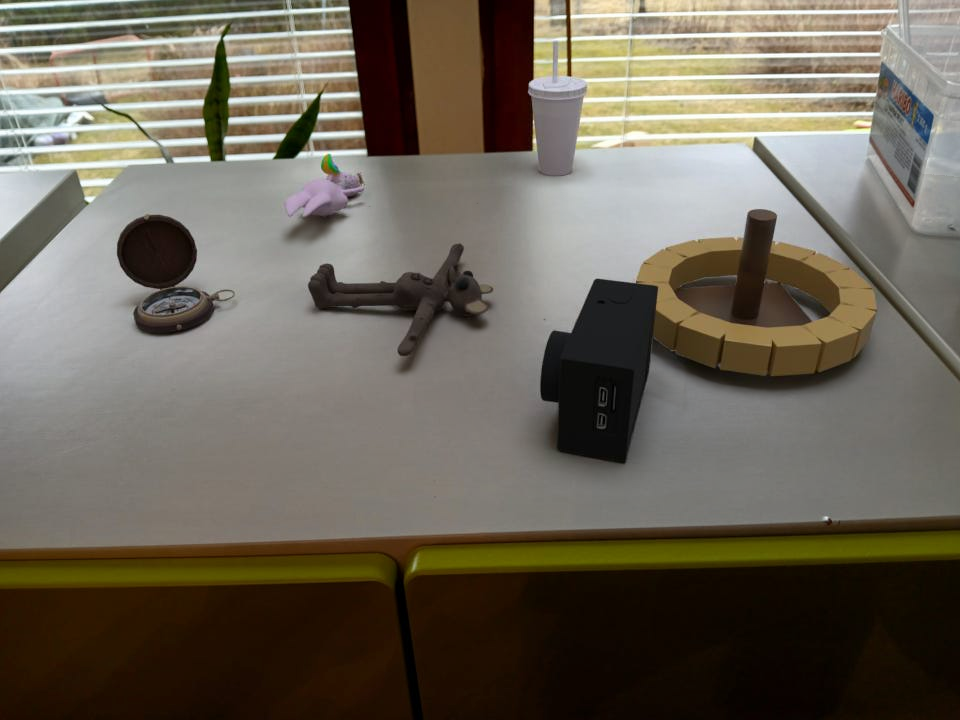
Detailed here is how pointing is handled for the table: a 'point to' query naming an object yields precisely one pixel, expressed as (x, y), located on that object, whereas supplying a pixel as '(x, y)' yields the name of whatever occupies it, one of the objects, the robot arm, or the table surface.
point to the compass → (163, 273)
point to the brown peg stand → (750, 284)
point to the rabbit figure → (325, 192)
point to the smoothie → (556, 118)
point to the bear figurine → (406, 294)
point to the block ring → (752, 344)
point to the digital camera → (601, 369)
